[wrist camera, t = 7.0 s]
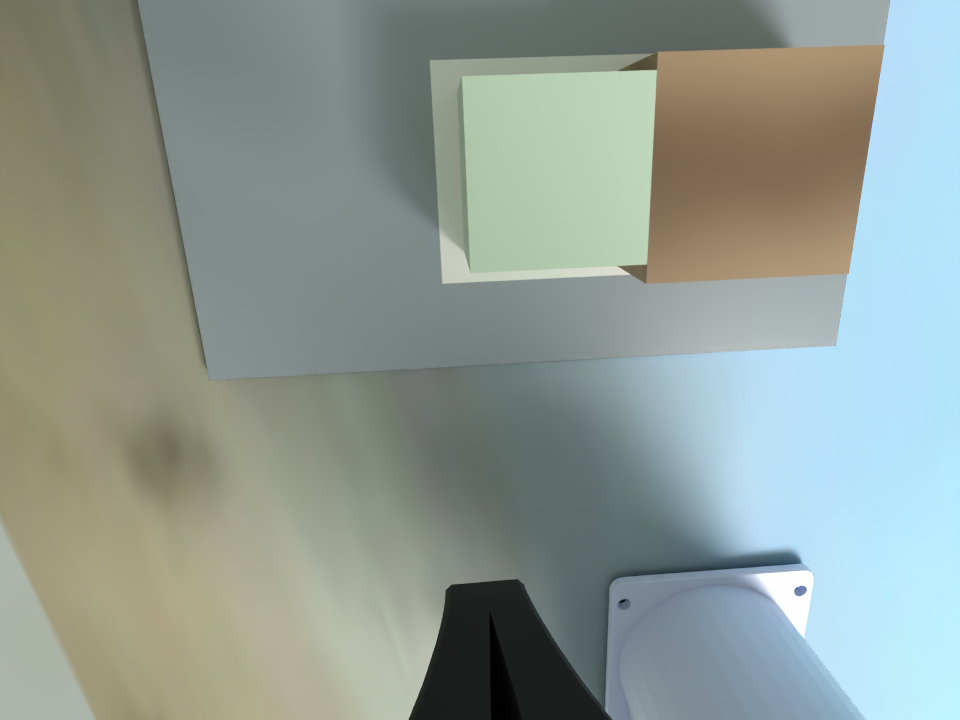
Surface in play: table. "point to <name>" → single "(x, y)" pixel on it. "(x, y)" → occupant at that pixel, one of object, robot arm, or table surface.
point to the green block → (556, 169)
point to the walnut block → (757, 161)
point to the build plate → (427, 182)
